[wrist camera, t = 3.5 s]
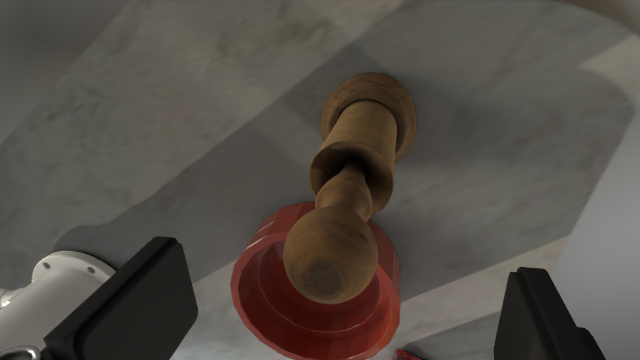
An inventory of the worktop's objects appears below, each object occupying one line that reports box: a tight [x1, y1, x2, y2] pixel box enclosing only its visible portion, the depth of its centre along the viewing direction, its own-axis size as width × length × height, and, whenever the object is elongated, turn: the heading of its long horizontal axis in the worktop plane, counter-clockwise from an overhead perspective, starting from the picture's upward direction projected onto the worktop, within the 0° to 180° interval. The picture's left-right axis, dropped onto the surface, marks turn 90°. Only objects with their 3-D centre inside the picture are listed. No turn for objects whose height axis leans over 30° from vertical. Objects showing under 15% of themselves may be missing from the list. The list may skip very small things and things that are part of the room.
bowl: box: [230, 202, 400, 360], centre depth 31 cm, size 13×13×5 cm
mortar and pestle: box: [283, 73, 416, 304], centre depth 18 cm, size 7×6×18 cm
